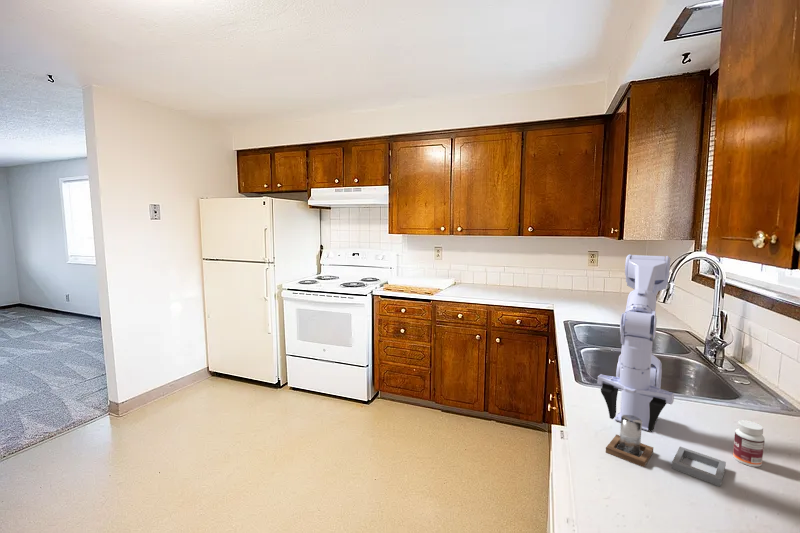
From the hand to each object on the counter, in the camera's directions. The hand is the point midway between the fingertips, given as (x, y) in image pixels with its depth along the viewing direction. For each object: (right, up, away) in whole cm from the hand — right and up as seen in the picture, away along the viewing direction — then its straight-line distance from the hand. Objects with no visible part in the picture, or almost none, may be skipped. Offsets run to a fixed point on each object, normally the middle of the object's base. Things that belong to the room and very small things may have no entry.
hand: (631, 423), depth 86 cm
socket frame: (0, -7, +1) cm, 7 cm away
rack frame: (+11, -8, -5) cm, 14 cm away
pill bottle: (+24, -8, -2) cm, 25 cm away
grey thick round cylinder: (0, -7, +1) cm, 7 cm away
